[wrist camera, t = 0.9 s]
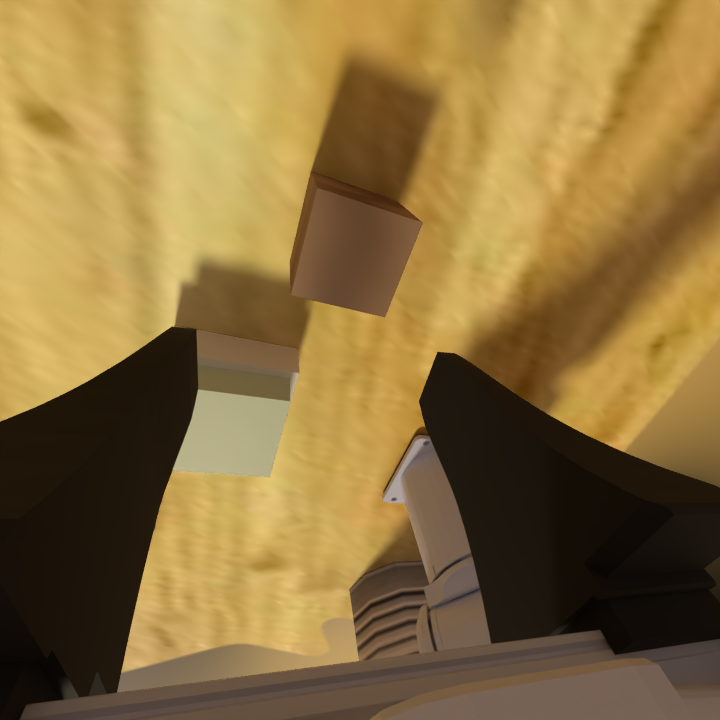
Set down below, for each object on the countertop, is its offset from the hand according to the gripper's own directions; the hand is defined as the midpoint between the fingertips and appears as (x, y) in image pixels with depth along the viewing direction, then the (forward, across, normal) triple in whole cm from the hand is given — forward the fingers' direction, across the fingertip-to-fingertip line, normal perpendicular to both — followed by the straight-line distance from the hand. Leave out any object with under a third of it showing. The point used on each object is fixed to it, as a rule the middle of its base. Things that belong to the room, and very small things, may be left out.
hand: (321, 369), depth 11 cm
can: (+11, -15, +37) cm, 42 cm away
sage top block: (+8, +4, +9) cm, 12 cm away
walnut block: (+10, -2, -2) cm, 11 cm away
